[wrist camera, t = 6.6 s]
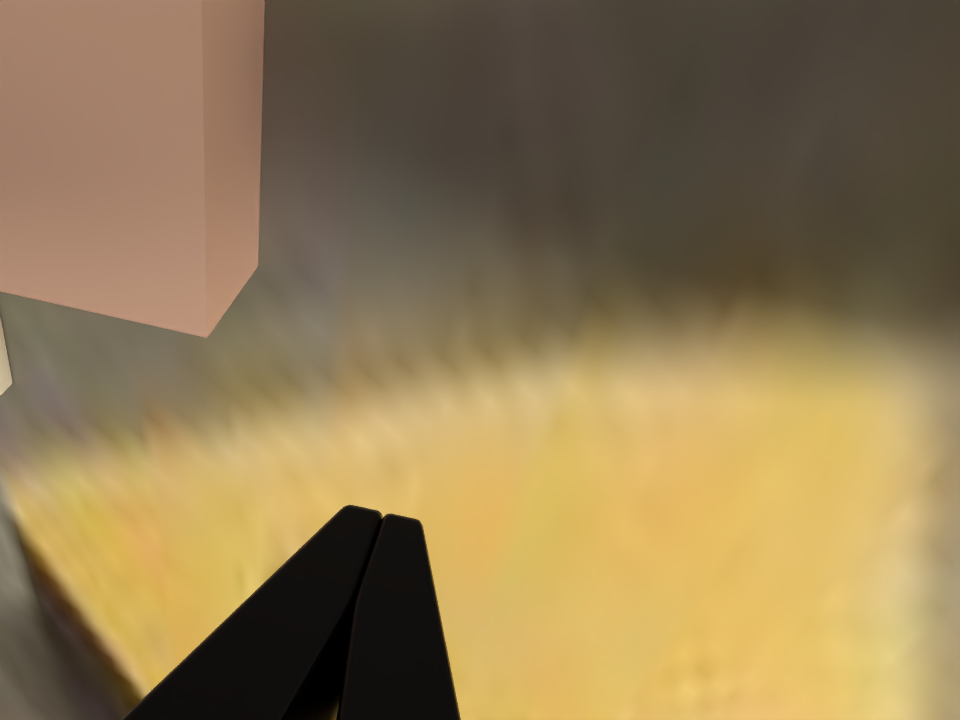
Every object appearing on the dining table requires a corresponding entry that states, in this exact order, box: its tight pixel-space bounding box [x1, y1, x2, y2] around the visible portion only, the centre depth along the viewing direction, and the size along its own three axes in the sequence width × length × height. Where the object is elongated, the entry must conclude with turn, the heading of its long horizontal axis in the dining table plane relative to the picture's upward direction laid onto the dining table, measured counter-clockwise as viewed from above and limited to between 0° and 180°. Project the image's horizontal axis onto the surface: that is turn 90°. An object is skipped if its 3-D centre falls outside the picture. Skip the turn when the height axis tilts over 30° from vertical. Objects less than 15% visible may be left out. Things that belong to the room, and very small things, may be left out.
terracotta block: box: [0, 0, 265, 338], centre depth 18 cm, size 7×8×4 cm
